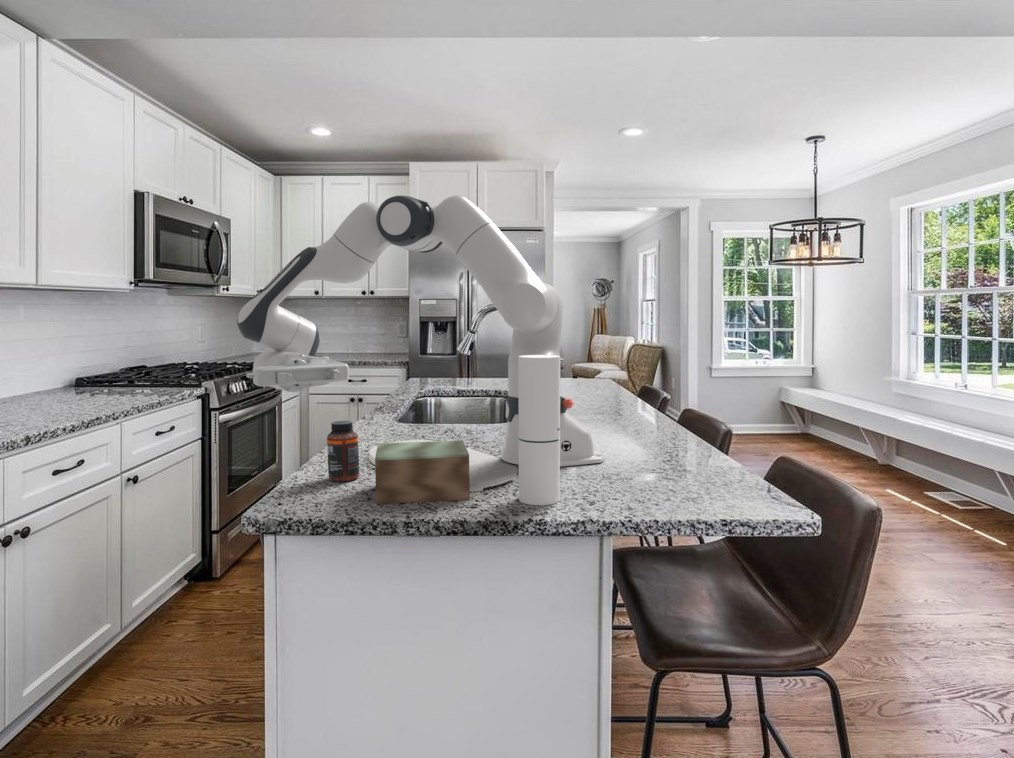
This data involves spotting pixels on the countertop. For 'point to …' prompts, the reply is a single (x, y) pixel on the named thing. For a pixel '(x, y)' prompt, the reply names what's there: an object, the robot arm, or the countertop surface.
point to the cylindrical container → (539, 429)
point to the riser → (422, 472)
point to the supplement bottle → (343, 452)
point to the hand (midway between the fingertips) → (315, 377)
